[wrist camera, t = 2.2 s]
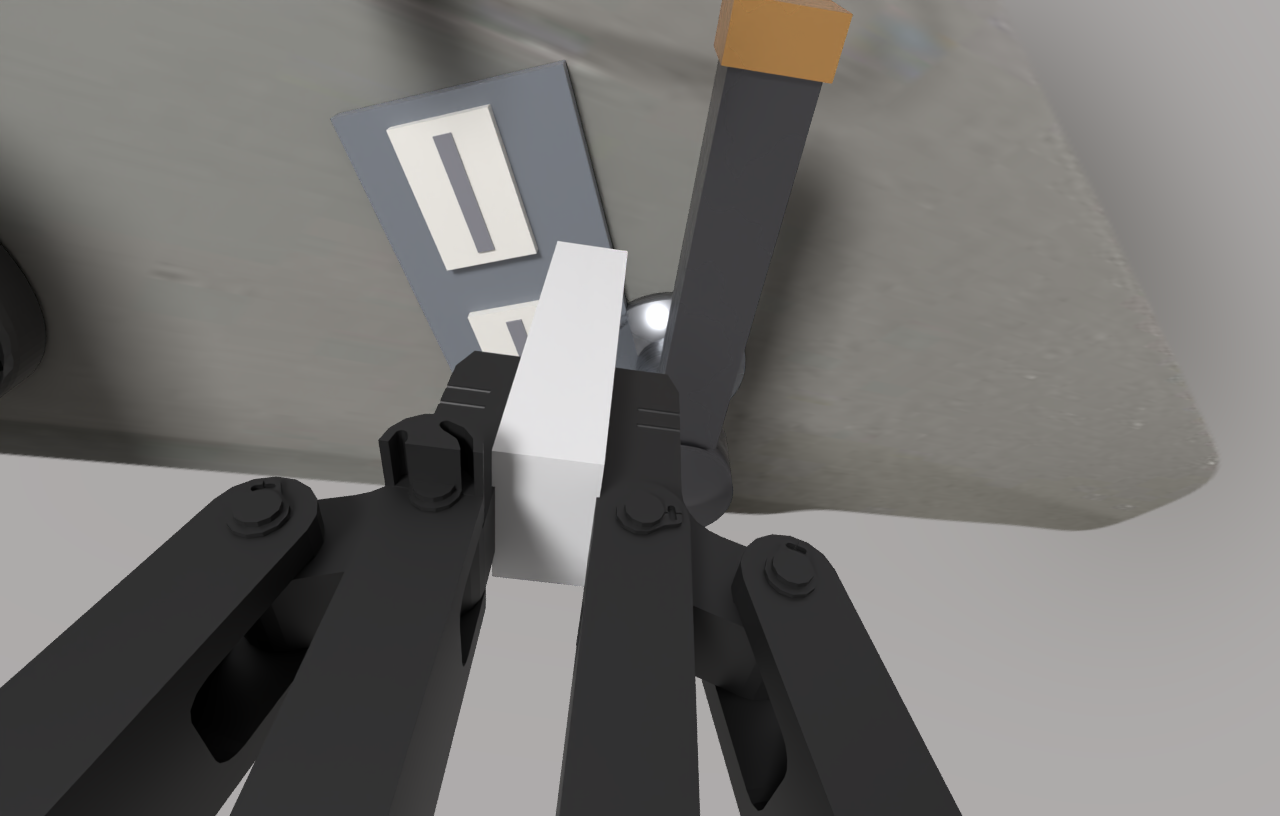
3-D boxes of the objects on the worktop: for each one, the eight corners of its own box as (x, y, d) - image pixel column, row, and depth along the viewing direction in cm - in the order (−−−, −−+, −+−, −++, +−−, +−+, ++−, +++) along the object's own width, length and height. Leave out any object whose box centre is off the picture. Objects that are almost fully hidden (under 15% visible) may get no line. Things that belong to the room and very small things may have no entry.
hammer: (714, 489, 31) (718, 538, 29) (610, 478, 31) (606, 526, 28) (862, 4, 18) (892, 21, 16) (690, -26, 18) (695, -13, 16)
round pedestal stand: (614, 424, 38) (607, 507, 33) (577, 307, 33) (563, 383, 28) (751, 404, 36) (766, 486, 31) (734, 279, 32) (749, 353, 27)
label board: (476, 407, 37) (470, 423, 36) (337, 113, 27) (324, 122, 26) (646, 380, 36) (646, 395, 34) (565, 59, 26) (561, 67, 25)
